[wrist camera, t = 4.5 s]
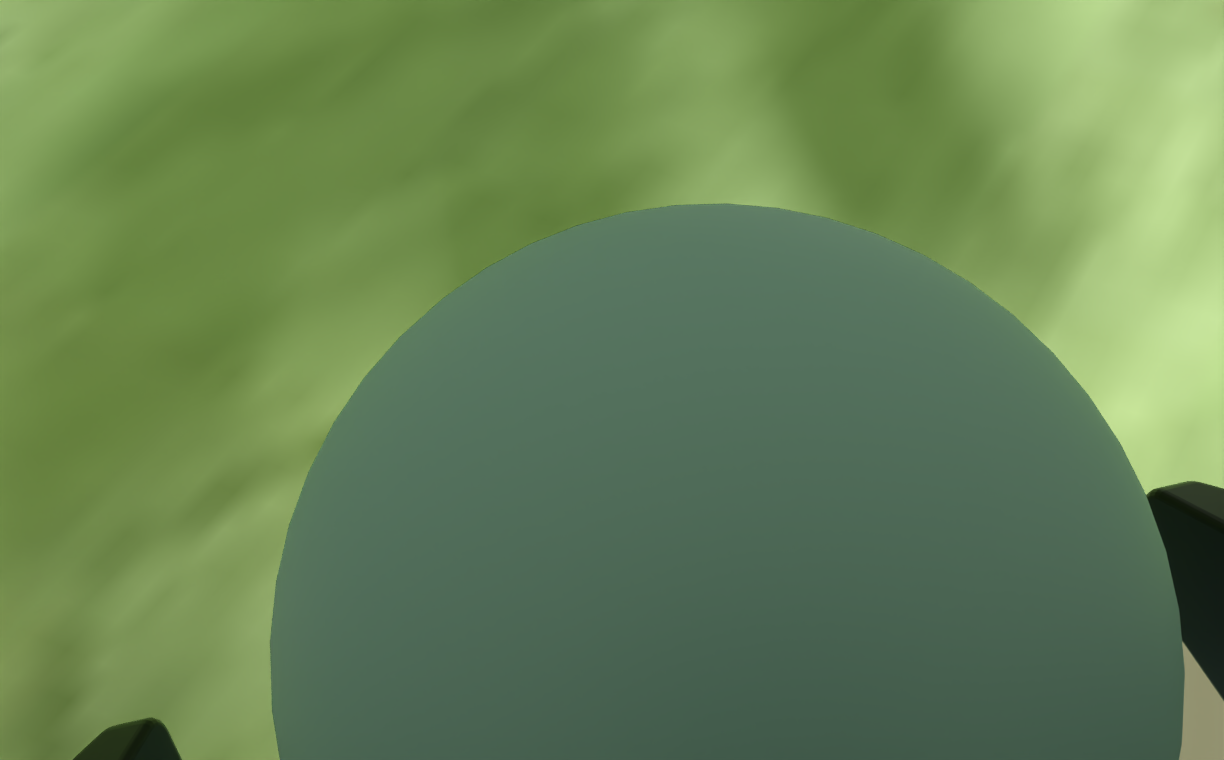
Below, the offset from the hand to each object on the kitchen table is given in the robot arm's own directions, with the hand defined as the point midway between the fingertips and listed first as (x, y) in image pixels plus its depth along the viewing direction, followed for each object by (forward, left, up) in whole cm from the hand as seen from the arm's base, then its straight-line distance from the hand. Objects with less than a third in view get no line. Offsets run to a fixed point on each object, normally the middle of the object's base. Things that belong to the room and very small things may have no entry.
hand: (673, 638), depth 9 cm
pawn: (0, 0, -8) cm, 8 cm away
